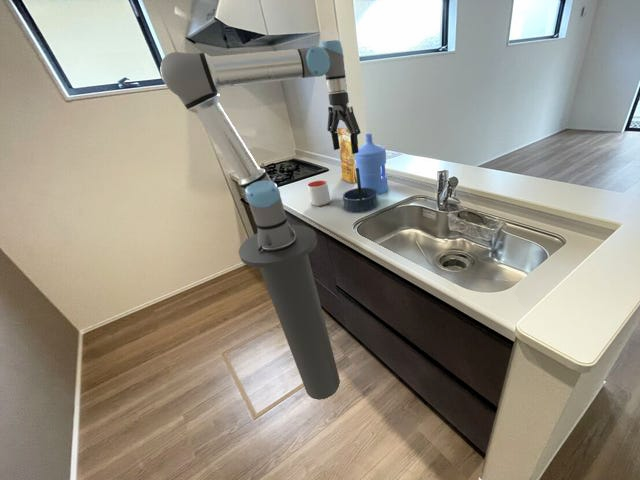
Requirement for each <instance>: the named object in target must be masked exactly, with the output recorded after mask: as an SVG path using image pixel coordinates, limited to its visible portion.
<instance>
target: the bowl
mask: <svg viewBox="0 0 640 480" xmlns="http://www.w3.org/2000/svg"><path fill="white" fill-rule="evenodd" d="M361 191H362V198H365V199H360V200H357V199H359V194H358V187H357V188H356V187H355V188H351V189H349V190H347V191H345V192H343V194H342V202H343V206H344V207H343V208H344V210H345V211H346V212H350V213H366V212H370V211H372V210H375V209H376V208H377V207H379V195H378V194H377V190H375V189H373V188H361Z"/></svg>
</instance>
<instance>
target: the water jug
mask: <svg viewBox="0 0 640 480" xmlns="http://www.w3.org/2000/svg"><path fill="white" fill-rule="evenodd" d="M358 151H359V152H358V153H355V166H356V168H359V174H360V182H361V188H373V189H375V190H377V194H378V196H379V195H382V194H384V193H386V192H387V191H388V190H389V184H388V176H387V175H388V174H386V164H387V152H386V148H385V147H384V146H382V145H379V144H377V143H374V142H373V134H372V133H366V134H365V143H364V145H362V146H360V147H358Z"/></svg>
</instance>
